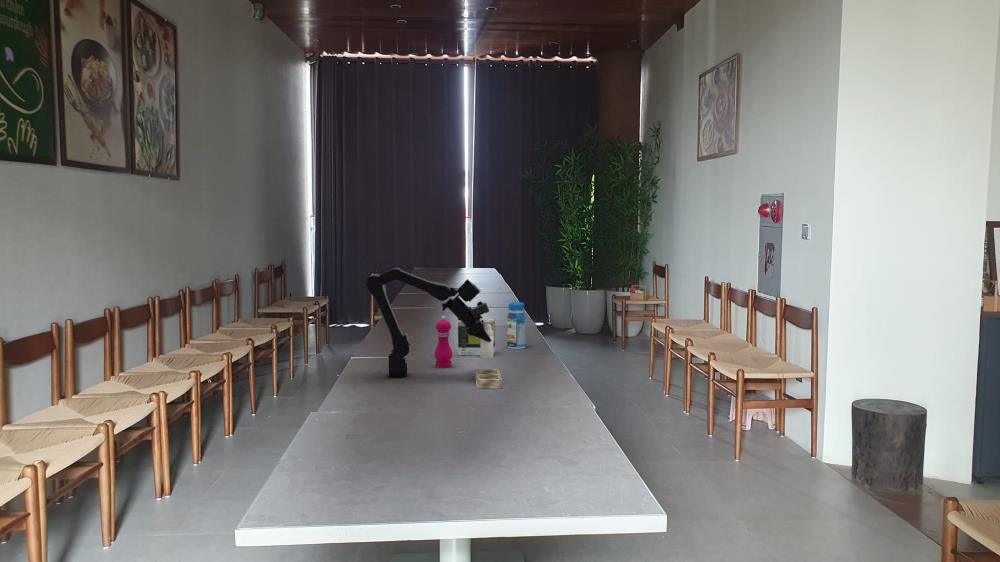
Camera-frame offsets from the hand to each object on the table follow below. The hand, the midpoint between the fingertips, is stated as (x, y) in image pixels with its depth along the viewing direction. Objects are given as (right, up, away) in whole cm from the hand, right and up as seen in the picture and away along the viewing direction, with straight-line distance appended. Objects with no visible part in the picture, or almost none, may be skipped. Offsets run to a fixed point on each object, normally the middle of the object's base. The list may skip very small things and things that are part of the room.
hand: (490, 340), depth 280 cm
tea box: (-6, -9, +41) cm, 43 cm away
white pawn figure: (-1, -7, +1) cm, 7 cm away
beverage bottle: (+11, -8, +55) cm, 57 cm away
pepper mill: (-19, -12, +17) cm, 28 cm away
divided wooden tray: (-1, -15, -9) cm, 17 cm away
